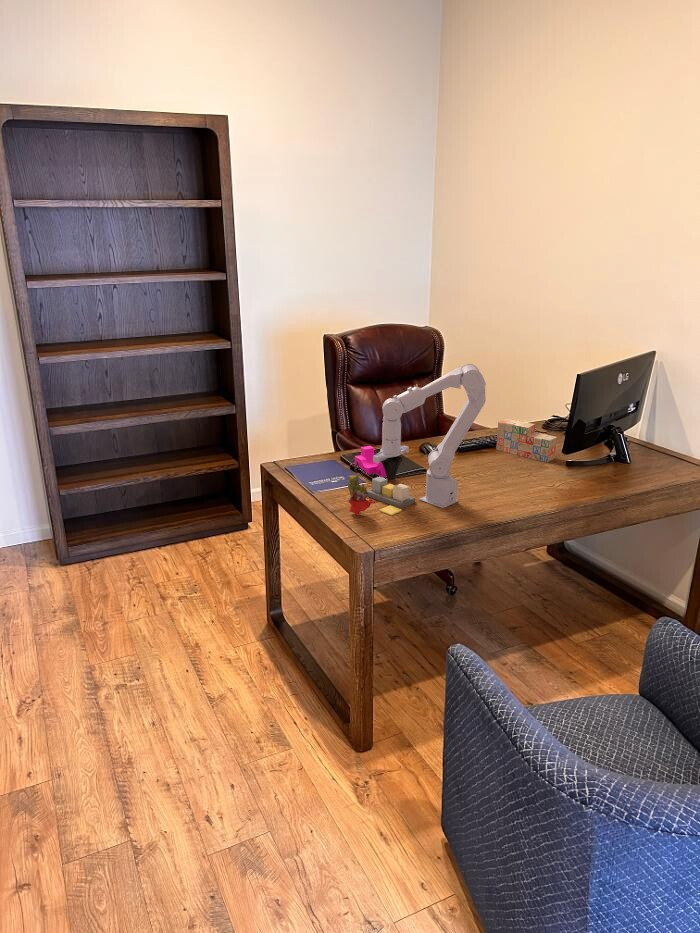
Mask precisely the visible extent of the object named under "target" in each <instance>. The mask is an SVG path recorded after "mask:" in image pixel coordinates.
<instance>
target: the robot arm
mask: <svg viewBox="0 0 700 933" xmlns="http://www.w3.org/2000/svg"><path fill="white" fill-rule="evenodd" d="M486 384H487V383H486V381H485V378H484V375H483V374H482V373H481V371H480V369H479V368H478V367H477V366H476V365H475V364H473V363H466V364H463V365H462V366H461V367H460V366H459V367H456V368H455V369H452V370H451V371H449V372H448V373H446V374H444V375H443V376H440V377H439V378H437V379H434V381H432V382H430V383H428V384H426V385H425V386H423V387H418V386H414V387H412V386H409V387H407V390H406V391H404V392H402V393H400V394H398V395H397V394H395V395H393V397H392V398H391V397H389V398H388V399H385V401H384V402H383V404H382V407H381V409H382V415H383V417H382V421H383V422H382V426H381V427H382V432H381V434H382V436H381V438H382V439H381V441H382V442H381V448H380V450H379V452H378V453H376V454H375V456H373V462H375V463H380V461H381V463H382V464H383V466H384V469H385V472H386V476H387V478H386V479H388V481H389V480H390V481H394V480H395V478H396V475H397V472H398V469H399V466H400V464H401V463H402V462H403V457H402V456H401V455H402V454H408V453H409V452H410V451H409V450H410V447H409V446H407V445H402V444H401V442H402V422H401V417H402V415H403V414H406V413H408V412H410V411H412V410H414V409H416V408H418V407H420V406H422V405H424V404H425V401H426V398H429V397H431V396H434V395H436V394H439V393H440V392H443V391H445V390H447V389H449V388H453V389H454V388H455V389H459V390H460V389H462V387H463V388H464V390H465V392H466V393H465V394H466V396H467V399H466V401H465V402H464V405H463V406H462V407H461V409H460V412H459V413H458V415H457V416H456V418H455V419H454V421H453V423H452V424H451V426H450V428H449V430H448V431H447V433H446V434H445V436H444V438H443V439H442V441H441V442H440V443H439V444H438V445H437V446H436V448H435V449H434V450H432V451H431V452H430V453H429V454H428V456H427V462H428V466H429V468H428V469H427V471H426V481H425V496H422V497H420V498H419V501H421V502H425V503H427V504H430V505H433V506H435V507H437V508H438V507H439V508H441V509H445V508H446V507H449V506H451V505H453V504H456V503H458V502H459V500H458V498H457V497H458V480H456V478H454V477H453V476H451V472H450V470H451V464H452V463H453V461H454V457H455V455H456V454H455V453H456V452H457V450H458V448H459V446H460V444H461V443H462V441H463V439H464V438H465V437H466V435H467V433H468V431H469V430H470V428H471V427H472V425H473V423H474V422H475V420H476V419H477V417H478V415H479V413H480V412H481V411H482V409H483V407H484V405H485V403H486Z"/></svg>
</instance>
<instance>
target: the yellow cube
mask: <svg viewBox="0 0 700 933" xmlns="http://www.w3.org/2000/svg"><path fill="white" fill-rule="evenodd" d="M393 486H396V484H395V485H394V484H392V483H387V485H385V486H382V495H384V496H387V497H390V498H391V497H393Z"/></svg>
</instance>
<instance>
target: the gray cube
mask: <svg viewBox="0 0 700 933" xmlns="http://www.w3.org/2000/svg"><path fill="white" fill-rule="evenodd" d="M388 481H389V479H387V478H386V479H385V478H383V477H380V476H379V477H378V476H376V477H374V478H372V479H371V489H372V491H374V492H377V493H379V494H381V493H382V486H385V485H387V484H388Z"/></svg>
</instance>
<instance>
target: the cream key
mask: <svg viewBox="0 0 700 933" xmlns="http://www.w3.org/2000/svg"><path fill="white" fill-rule="evenodd" d="M409 496H410V486H409V485H406V484H404V483H403V484H402V483H399V484H395V486H393V499H396V500H398V501H401V502H402V501H404V500H406V499H409Z"/></svg>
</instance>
